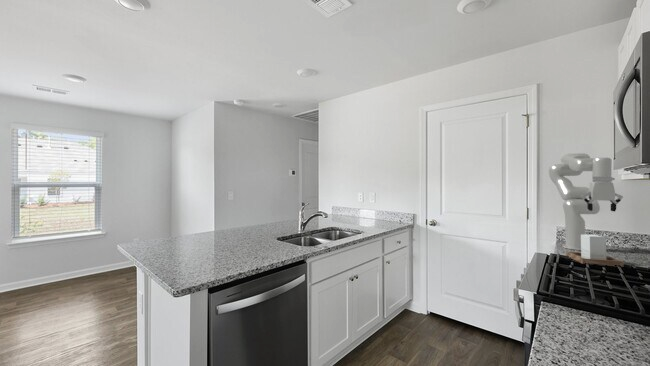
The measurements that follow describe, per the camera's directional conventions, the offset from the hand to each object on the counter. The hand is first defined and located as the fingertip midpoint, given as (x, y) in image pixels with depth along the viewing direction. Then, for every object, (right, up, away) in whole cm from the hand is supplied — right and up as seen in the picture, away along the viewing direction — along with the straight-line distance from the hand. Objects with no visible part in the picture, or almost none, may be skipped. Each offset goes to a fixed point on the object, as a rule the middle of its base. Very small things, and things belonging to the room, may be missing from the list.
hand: (601, 210), depth 157 cm
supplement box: (-11, -25, -7) cm, 29 cm away
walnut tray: (-12, -26, -7) cm, 29 cm away
